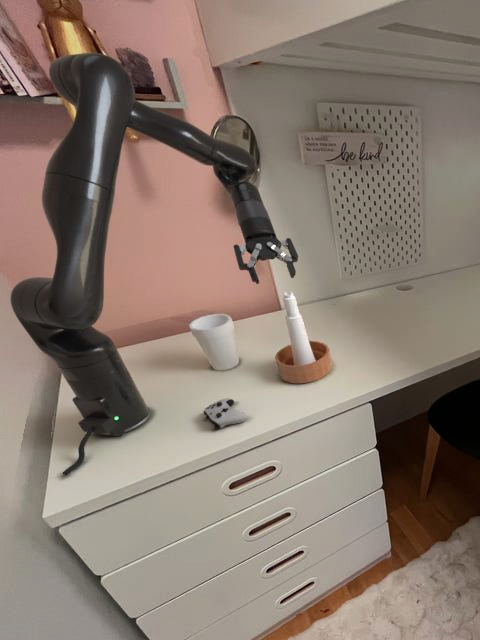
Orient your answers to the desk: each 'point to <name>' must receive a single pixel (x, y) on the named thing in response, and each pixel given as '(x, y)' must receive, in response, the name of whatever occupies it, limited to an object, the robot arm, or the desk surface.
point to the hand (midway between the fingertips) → (275, 279)
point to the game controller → (224, 413)
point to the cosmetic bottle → (297, 332)
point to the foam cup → (216, 340)
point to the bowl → (308, 370)
